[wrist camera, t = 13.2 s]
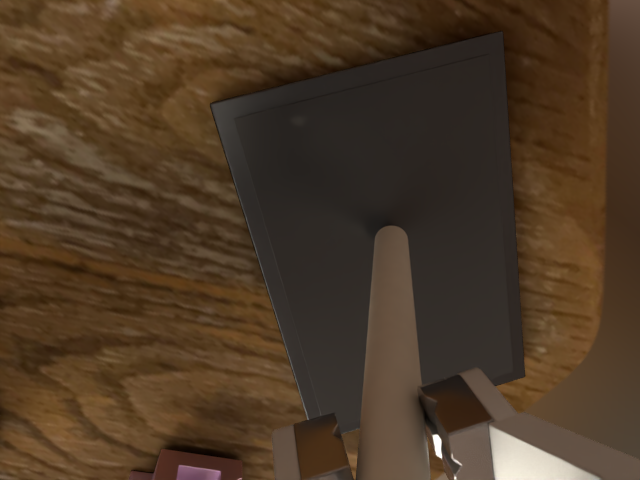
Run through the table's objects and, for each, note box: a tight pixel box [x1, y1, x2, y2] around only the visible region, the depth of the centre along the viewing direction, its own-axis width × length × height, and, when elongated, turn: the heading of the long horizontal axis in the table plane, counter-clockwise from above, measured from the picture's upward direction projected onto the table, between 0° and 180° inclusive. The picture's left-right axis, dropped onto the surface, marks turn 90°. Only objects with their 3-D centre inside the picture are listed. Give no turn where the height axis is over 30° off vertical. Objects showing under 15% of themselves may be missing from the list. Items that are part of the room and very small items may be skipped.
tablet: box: [210, 31, 525, 434], centre depth 22 cm, size 19×13×1 cm
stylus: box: [356, 226, 431, 480], centre depth 14 cm, size 2×2×15 cm
